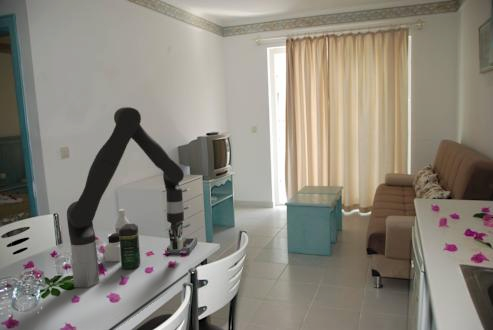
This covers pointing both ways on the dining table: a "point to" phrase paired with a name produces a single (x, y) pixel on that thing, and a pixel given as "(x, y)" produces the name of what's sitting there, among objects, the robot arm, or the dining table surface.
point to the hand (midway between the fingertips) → (176, 247)
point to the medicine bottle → (113, 248)
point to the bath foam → (121, 220)
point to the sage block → (178, 243)
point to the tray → (189, 247)
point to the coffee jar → (129, 246)
